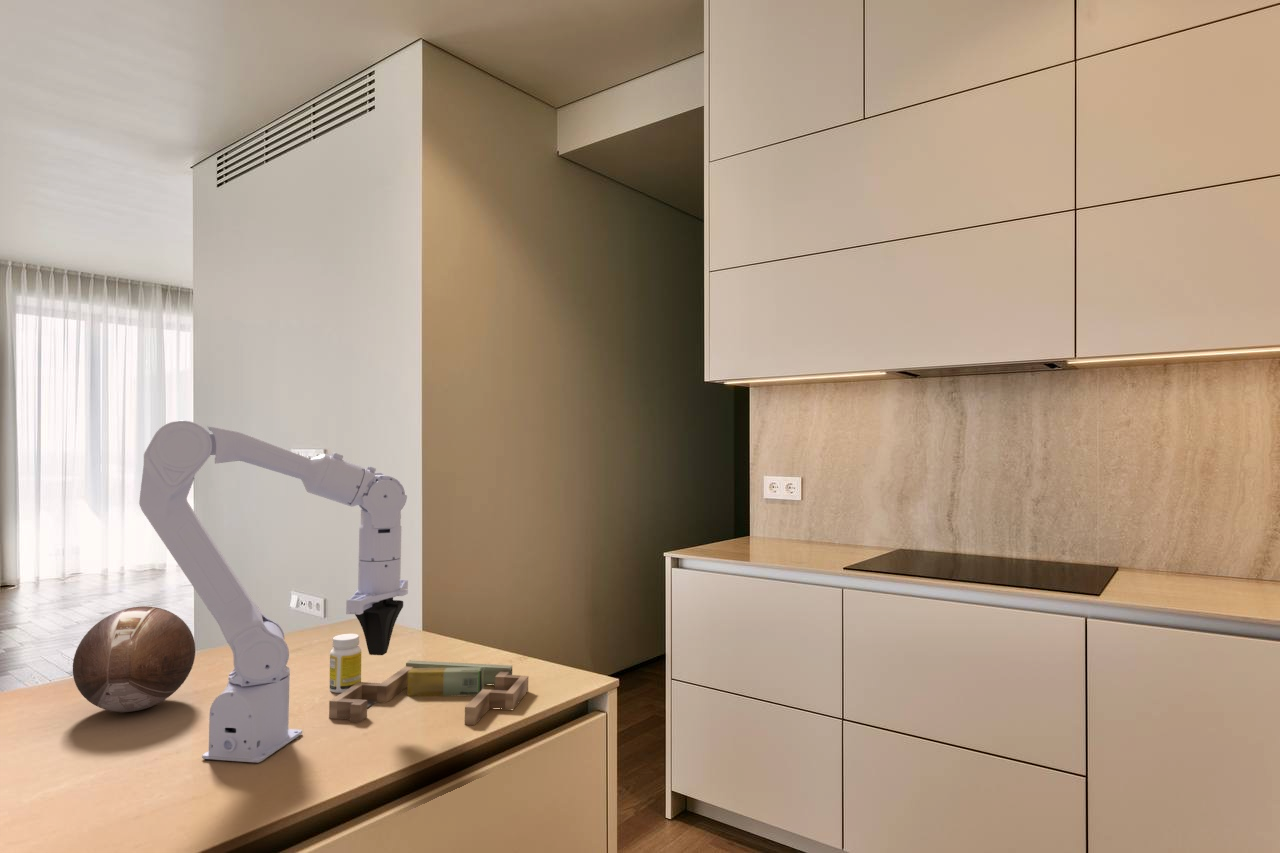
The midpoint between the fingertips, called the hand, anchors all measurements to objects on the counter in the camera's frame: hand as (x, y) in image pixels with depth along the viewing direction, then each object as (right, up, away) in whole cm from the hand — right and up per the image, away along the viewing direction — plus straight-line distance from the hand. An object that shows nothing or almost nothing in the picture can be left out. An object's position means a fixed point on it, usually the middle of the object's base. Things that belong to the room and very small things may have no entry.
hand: (378, 653), depth 103 cm
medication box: (+6, -11, +13) cm, 18 cm away
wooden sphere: (-38, -10, +4) cm, 39 cm away
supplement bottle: (-10, -10, +14) cm, 20 cm away
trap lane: (+6, -10, +9) cm, 15 cm away
